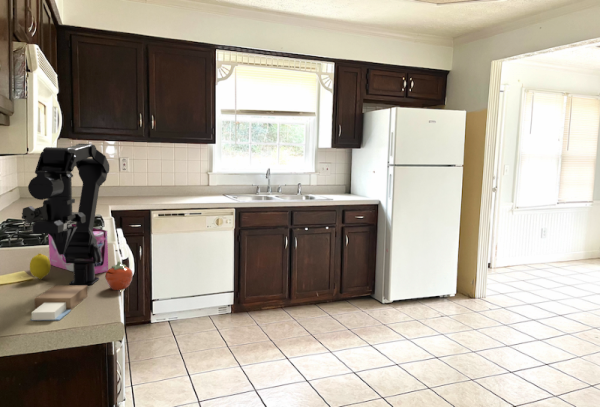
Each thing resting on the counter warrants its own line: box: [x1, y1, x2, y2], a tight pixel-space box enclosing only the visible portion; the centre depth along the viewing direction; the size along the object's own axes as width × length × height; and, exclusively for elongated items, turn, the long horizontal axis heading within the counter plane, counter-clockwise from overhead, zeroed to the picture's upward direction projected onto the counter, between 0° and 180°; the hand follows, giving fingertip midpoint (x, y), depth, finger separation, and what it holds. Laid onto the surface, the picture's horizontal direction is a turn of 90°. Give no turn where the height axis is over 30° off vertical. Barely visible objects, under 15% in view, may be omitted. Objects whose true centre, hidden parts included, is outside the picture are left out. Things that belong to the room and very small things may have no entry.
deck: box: [34, 284, 89, 311], centre depth 119 cm, size 11×8×3 cm
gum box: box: [47, 223, 109, 275], centre depth 152 cm, size 24×8×14 cm, turn 57°
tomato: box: [104, 260, 134, 291], centre depth 132 cm, size 7×7×8 cm
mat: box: [29, 310, 72, 322], centre depth 110 cm, size 6×6×1 cm
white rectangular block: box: [31, 302, 66, 321], centre depth 110 cm, size 7×5×2 cm
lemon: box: [29, 253, 52, 280], centre depth 139 cm, size 6×6×8 cm
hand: (61, 254), depth 121 cm, fingers closed
